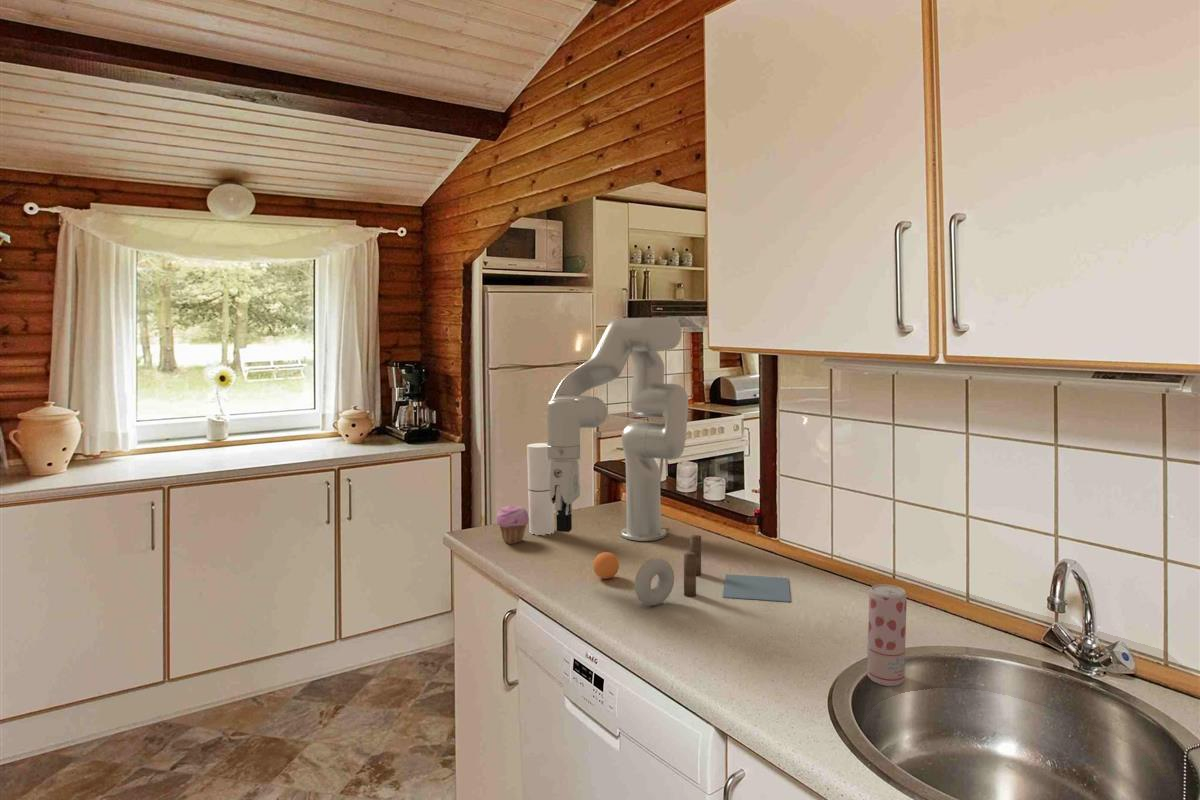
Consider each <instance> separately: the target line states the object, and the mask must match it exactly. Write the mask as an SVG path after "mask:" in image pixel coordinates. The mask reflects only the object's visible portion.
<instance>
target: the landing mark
mask: <svg viewBox="0 0 1200 800" xmlns="http://www.w3.org/2000/svg"><path fill="white" fill-rule="evenodd" d="M724 578H725V579H724V585H723V592H722V599H723V598H724V599H738V600H740V599H741V600H751V601H766V602H767V601H768V602H781V603H782V602H783V603H791V595H790V593H791V592H790V585H789V582H790V581H789V578H788V577H777V576H776V577H775V576H759V575H748V574H747V575H746V574H745V575H742V574H729V573H728V574H727V573H725V577H724Z"/></svg>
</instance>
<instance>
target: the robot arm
mask: <svg viewBox="0 0 1200 800" xmlns="http://www.w3.org/2000/svg"><path fill="white" fill-rule="evenodd" d="M682 333H683V332H682V327H681V324H680V323H679V321H678V320H677V319H676V318H674V317H671V316H669V317H663V316H662V317H622V318H621V317H620V318H616V319H613V320H612V321H610V322H609V324H608V325H607V326H606V328H605V330H604V332H603V333H602V336H601V338H600V339H599V342H598V343H597V345H596V347H595V348H594V351H593V353H592V355H591V357H590V358H589V359H588V360H587V361H585V362H583V363H582V364H580V365H579V366H577V367H576V368H575V369H573V370H572V371H571V372H569V373H568V374H567V375H565V376H564V377H563V379H561V381H560V383H559V384H558V385H557V387H556V389H555V391H554V393H553V395H552V397H551V399H550V400H549V401H548V403H547V405H546V427H547V428H546V438H547V439H546V441H547V442H546V443H547V459H548V460H551V466H550V501H551V503H553V504H554V511H555V514H556V531H557V532H561V533H570V532H571V531H572V529H573V525H572V523H573V522H572V519H573V517H572V512H573V510H572V508H573V503H574V502H575V501H576V500H577V499H579V497H580V496H581V487H580V486H581V481H580V479H581V478H580V468H579V467H580V466H579V465H580V464H579V460H580V459H581V429H596V428H598V427H600V426H601V425H603V423H604V422H605V421H606V419H607V416H608V407H607V405H606V403H605V402H604V400H603V399H601V398H599V397H596V396H589V395H587V396H586V395H583V394H584V393H586V392H587V391H589V390H591V389H593V388H596V387H599V386H603V385H605V384H608V383H610V382H613V381H614V380H617V378H619V377H620V376H621V374H622V371H623V370H624V368H625V366H626V364H627V361H628V359H629V358H630V357H631V360H632V365H633V376H632V377H633V378H632V386H631V397H630V409H631V411H632V413H633V414H634V415H636V416H638V417H641V418H650V419H651V418H653V419H663V420H664V423H663V422H662V423H658V422H652V421H651V422H650V421H649V422H648V421H637V422H636V421H635V422H632V423H629V424H627V425H626V426H625V427H624V429H623V430H622V433H621V445H622V450H623V454H624V461H625V497H626V498H625V501H626V502H625V503H626V504H625V509H626V510H625V511H626V512H625V513H626V516H625V519H626V526H625V527H623V528H622V529H620V535H621V537H623V538H624V539H627V540H631V541H638V542H651V541H657V540H661V539H663V538H666V536H667V529H666V528H664V527H662V526H661V524H662V521H661V518H662V516H661V513H662V512H661V470H660V467H659V464H658V463H657V462H656V460H655V459H661V460H677V459H679V458H681V456H682V455H683V453H684V450H685V445H686V437H687V427H688V416H689V415H688V414H689V396H688V394H687V391H686V389H685V387H683V386H682V385H680V384H677V383H676V384H675V383H665V382H664V381H665V364H664V361H663V359H662V357H661V355H660V354H659V352H661V351H669V350H674V349H675V348H676V347H678V345H679V344H680V343H681V340H682Z"/></svg>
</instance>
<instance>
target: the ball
mask: <svg viewBox="0 0 1200 800" xmlns="http://www.w3.org/2000/svg"><path fill="white" fill-rule="evenodd" d="M592 569H593V571H594V573H595V574H596V576H597V577H599V578H600V579H603V580H608V579H611V578H614V576H616V575H617V574H618V572H619V569H620V563H619V559H618V558H617V557H616V555H614V554H613V553H612V552H607V551H606V552H605V551H604V552H601V553H599V554H597V555H596V557H595V558H594V561H593V563H592Z"/></svg>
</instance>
